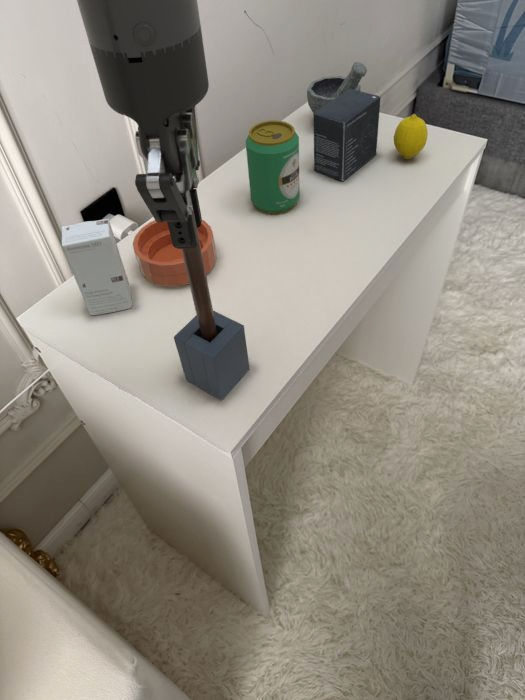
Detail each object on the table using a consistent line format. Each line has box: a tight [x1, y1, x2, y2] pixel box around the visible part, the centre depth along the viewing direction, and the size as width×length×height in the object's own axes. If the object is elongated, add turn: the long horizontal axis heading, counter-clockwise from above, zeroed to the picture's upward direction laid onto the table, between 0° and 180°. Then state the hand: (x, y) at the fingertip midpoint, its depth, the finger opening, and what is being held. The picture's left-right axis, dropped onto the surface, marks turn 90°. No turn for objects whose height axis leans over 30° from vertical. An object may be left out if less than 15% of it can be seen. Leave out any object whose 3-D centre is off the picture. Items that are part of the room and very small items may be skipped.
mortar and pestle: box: [306, 61, 368, 114], centre depth 97 cm, size 11×9×12 cm
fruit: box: [393, 113, 429, 160], centre depth 89 cm, size 6×6×8 cm
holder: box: [173, 310, 251, 402], centre depth 61 cm, size 6×6×8 cm
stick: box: [180, 190, 218, 342], centre depth 54 cm, size 2×2×26 cm
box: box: [312, 89, 381, 182], centre depth 89 cm, size 11×7×10 cm, turn 139°
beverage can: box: [245, 119, 300, 215], centre depth 82 cm, size 8×8×12 cm
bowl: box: [132, 219, 217, 287], centre depth 76 cm, size 11×11×4 cm
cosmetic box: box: [61, 218, 133, 316], centre depth 69 cm, size 6×4×12 cm
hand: (188, 235), depth 48 cm, fingers closed
